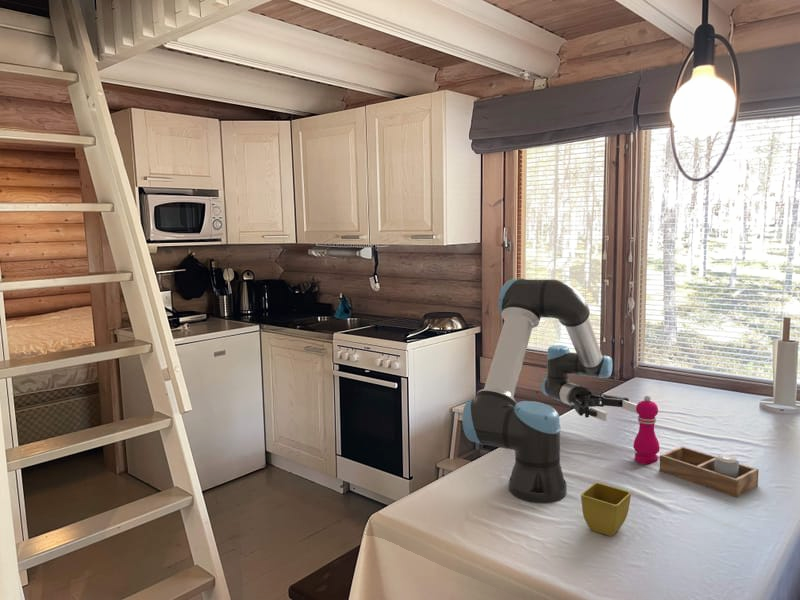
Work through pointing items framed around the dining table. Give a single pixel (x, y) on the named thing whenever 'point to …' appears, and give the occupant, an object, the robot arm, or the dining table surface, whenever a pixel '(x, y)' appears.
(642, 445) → the pepper mill
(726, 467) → the salt jar
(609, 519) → the flower pot
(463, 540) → the dining table surface
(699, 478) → the caddy
